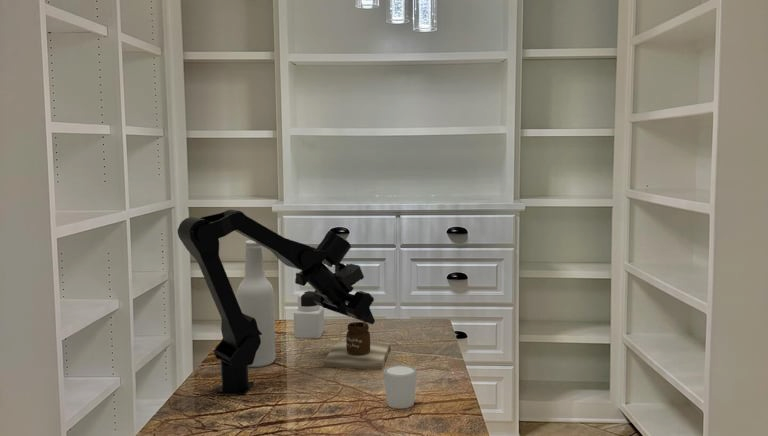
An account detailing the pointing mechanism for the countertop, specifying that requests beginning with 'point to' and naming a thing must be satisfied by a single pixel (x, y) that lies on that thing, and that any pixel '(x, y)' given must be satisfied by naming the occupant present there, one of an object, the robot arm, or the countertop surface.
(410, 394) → the white cup
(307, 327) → the medicine bottle
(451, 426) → the countertop surface
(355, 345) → the utensil holder
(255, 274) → the alcohol
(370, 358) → the ash cloth
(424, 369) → the countertop surface
